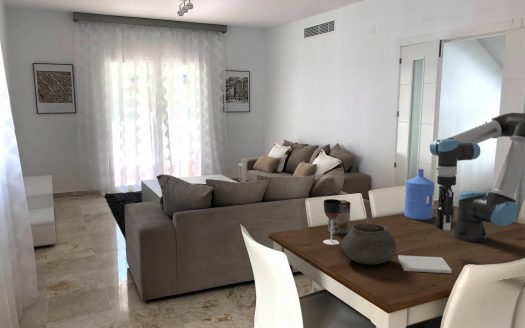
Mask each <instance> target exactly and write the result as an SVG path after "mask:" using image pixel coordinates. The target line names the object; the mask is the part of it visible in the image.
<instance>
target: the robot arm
mask: <svg viewBox="0 0 525 328" xmlns="http://www.w3.org/2000/svg"><path fill="white" fill-rule="evenodd" d="M501 137H502V138H503V137H508V138H509V139H510V141H511V144H510V147H509V149H508V151H507V154H506V155H505V156H506V157H505V160H504V162H503V165H502V167H501V170H500V172H499V175H498V178H497V180H496V183H495V185H494V188H493V189H492V190H490V191H488V194H487V192H486V191H481V190H480V191H479V190H467V191H466V190H465V191H462V192H460V193H459V197H458V209H457V210H458V211H457V213H458V214H457V221H456V223H455V225H454V227H453V229H452V230H453V231H452V236H453V237H454V238H456V239H458V240H462V241H467V242H475V243H477V242H478V243H479V242H484V241H487V239H488V233H487V229H486V227H485V226H486V225H485V222H486V223H489V224H492V225H495V226H500V227H501V226H502V227H507V226H509V225H511V224H513V222H514V221H515V220H516V219H517V218H518V215H519V210H518V209H519V206H518V205H517V203H516V202H517V199H516V197H515V195H516V192H517V190H518V187H519V184H520V181H521V179H522V176H523V173H524V170H525V112H509V113H504V114H501V115H498V116H496V117H493V118H490V119H488V120H486V121H485V123H483V124H481V125H478V126H475V127H473V128H471V129H468V130H465V131H463V132H460V133H457V134H455V135H453V136H449V137H447V138H443V139H435V140H433V141H431V143H430V145H429V152H430V153H431V155H433V156H435V157H437V167H436V171H437V177H436V178H437V179H436V184H437V185H439V186H438V200H437V201H438V202H437V203H438V204H437V208H438V207H440V205H439V204H440V201H444V207H445V214H443V215H444V224H443V230H442V231H451V230H450V228H451V215H453V210H454V195H455V194H454V193H455V192H454V191H453V189H452V186H456V185H457V176H456V175H458V161H460V162H461V161H472V160H476V159H478V158H479V157H480V156H481V147H480V145H479V144H481V143H482V142H486V141H487V140H490V139H498V138H501Z"/></svg>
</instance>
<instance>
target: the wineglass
mask: <svg viewBox="0 0 525 328" xmlns="http://www.w3.org/2000/svg"><path fill="white" fill-rule="evenodd" d="M340 208H341V201H340V200H339V199H335V198H334V199H332V198H330V199H327V198H326V199H325V200H323V211H324V214H325V216H326V217H327V218H328V219H329V218H330V219H331V232H330V239H325V240H323V244H326V245H331V246H332V245H339V244H340V241H339V242H338V240H337V239H333V233H332V227H333V219H334V218H336V217H337V216H338V215H339V213H340Z"/></svg>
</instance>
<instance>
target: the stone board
mask: <svg viewBox="0 0 525 328" xmlns="http://www.w3.org/2000/svg"><path fill="white" fill-rule="evenodd" d="M397 259H398V261H399V264H400V265H401V268H402V270H403V271H405V272H421V273H422V272H424V273H425V272H426V273H441V274H452V273H453V271H452V269H451V268H450V266H449V264H447V262H446V261H445V259H443V257H439V256H437V257H436V256H417V255H399V254H397Z"/></svg>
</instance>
